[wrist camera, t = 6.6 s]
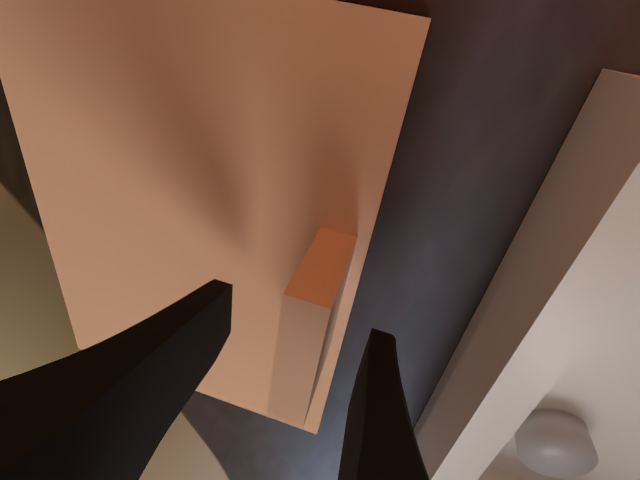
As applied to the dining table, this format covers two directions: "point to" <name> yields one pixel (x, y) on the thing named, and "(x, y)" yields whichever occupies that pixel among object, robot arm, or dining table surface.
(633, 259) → the parts tray
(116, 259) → the lid
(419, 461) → the robot arm
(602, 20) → the dining table surface
